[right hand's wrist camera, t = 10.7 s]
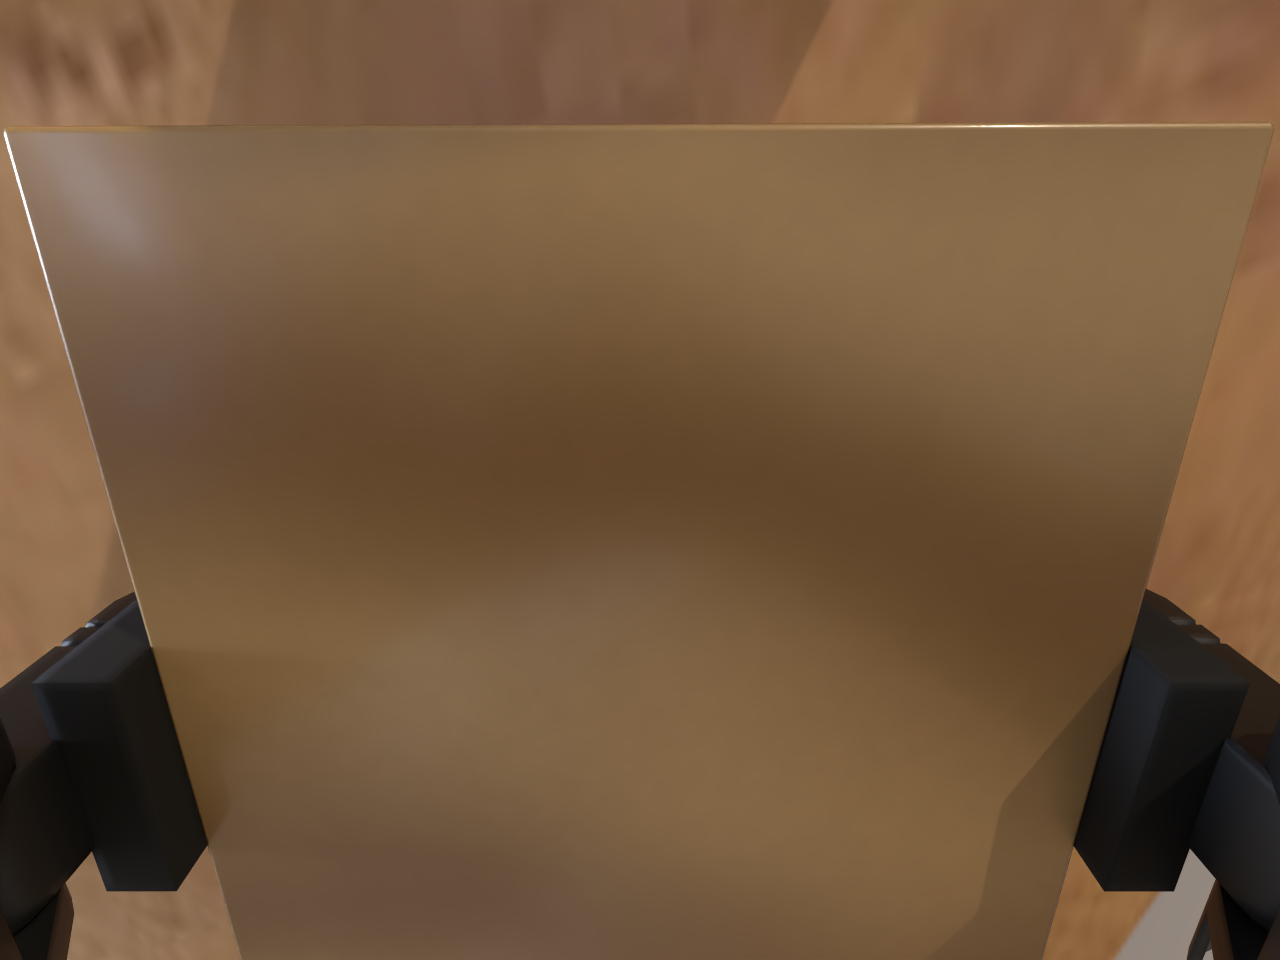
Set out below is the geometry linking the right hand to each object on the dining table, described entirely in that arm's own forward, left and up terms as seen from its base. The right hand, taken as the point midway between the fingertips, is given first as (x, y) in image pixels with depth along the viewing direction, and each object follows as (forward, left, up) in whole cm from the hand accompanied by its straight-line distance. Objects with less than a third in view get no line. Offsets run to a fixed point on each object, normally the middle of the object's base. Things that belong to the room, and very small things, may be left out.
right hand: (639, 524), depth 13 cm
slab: (+13, -23, -1) cm, 26 cm away
